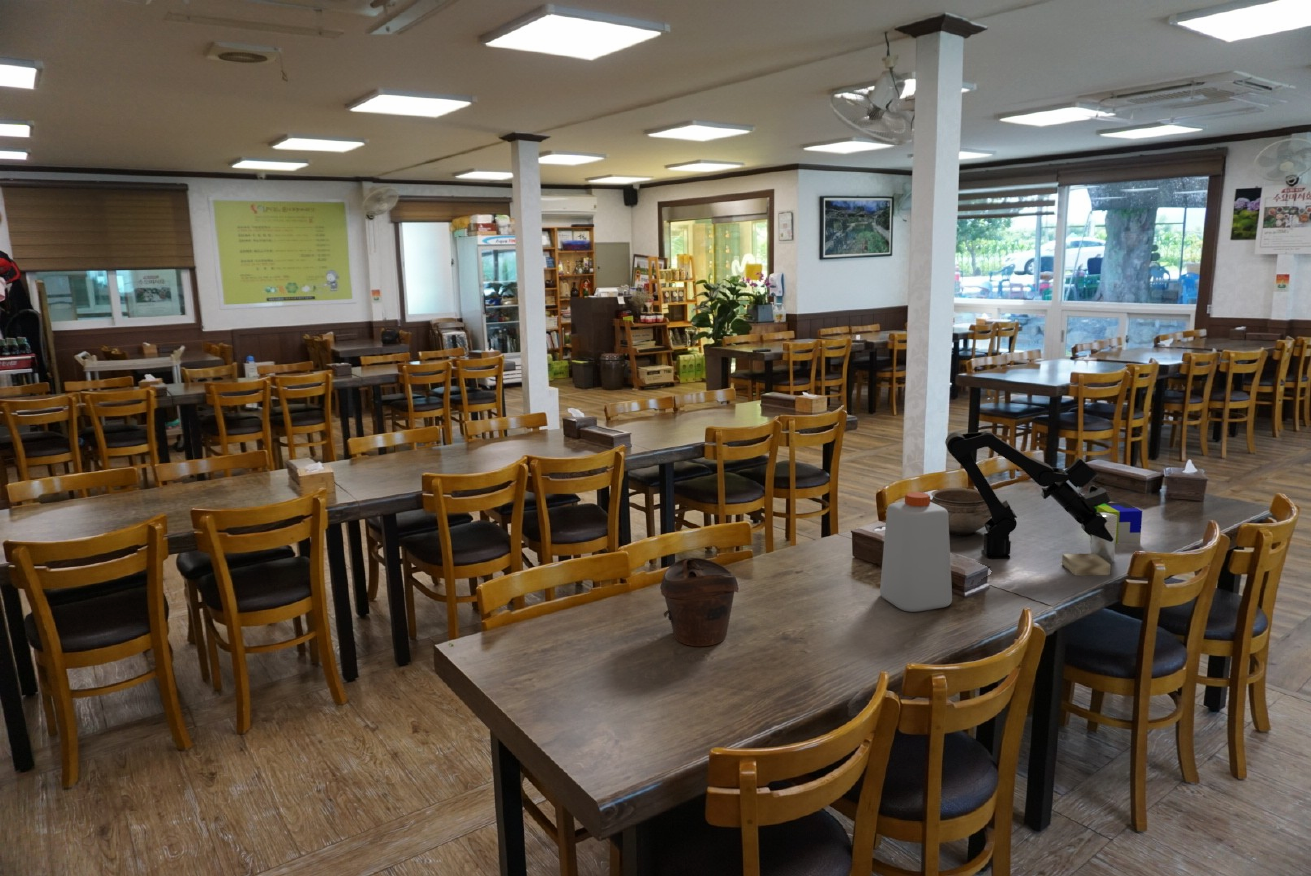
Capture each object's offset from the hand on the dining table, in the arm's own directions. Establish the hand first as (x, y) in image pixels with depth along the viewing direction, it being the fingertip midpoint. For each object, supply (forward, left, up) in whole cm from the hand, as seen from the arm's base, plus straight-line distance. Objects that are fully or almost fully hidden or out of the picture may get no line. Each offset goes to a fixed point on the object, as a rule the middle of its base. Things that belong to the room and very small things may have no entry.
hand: (1109, 537), depth 240 cm
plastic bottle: (-60, -29, -7) cm, 67 cm away
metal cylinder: (-1, 0, -7) cm, 7 cm away
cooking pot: (-33, +28, -7) cm, 44 cm away
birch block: (-9, -8, -7) cm, 14 cm away
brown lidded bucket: (-115, -49, -7) cm, 125 cm away
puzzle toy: (+11, +19, -7) cm, 23 cm away
